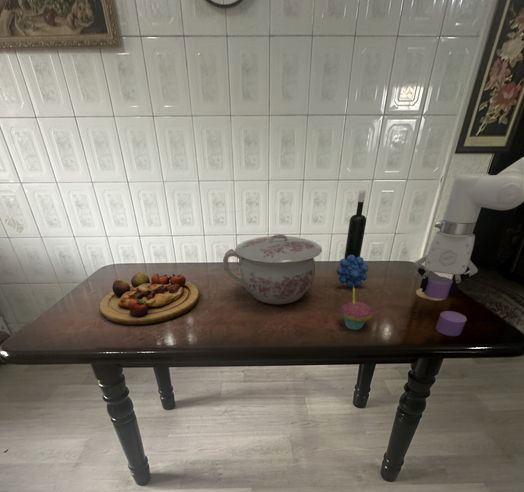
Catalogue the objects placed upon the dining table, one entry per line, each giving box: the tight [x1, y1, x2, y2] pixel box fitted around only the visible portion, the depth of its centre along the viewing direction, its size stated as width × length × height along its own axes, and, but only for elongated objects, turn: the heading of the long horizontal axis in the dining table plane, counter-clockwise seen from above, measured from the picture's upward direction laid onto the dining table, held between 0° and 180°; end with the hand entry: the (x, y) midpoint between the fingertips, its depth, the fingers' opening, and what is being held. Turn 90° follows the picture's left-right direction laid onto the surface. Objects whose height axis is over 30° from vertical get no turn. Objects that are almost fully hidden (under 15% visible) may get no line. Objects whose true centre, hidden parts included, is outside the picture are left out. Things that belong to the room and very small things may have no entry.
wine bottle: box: [343, 189, 367, 260], centre depth 111 cm, size 6×6×30 cm
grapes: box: [335, 255, 369, 289], centre depth 105 cm, size 12×7×12 cm, turn 93°
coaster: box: [415, 288, 447, 302], centre depth 103 cm, size 10×10×1 cm
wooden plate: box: [98, 271, 201, 325], centre depth 99 cm, size 32×32×8 cm
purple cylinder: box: [424, 275, 454, 299], centre depth 87 cm, size 6×6×4 cm
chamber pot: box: [222, 233, 323, 305], centre depth 98 cm, size 28×28×21 cm
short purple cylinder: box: [435, 310, 468, 337], centre depth 83 cm, size 6×6×4 cm
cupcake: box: [340, 285, 373, 331], centre depth 84 cm, size 9×8×12 cm
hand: (436, 292), depth 88 cm, fingers closed on purple cylinder, 6 cm apart
